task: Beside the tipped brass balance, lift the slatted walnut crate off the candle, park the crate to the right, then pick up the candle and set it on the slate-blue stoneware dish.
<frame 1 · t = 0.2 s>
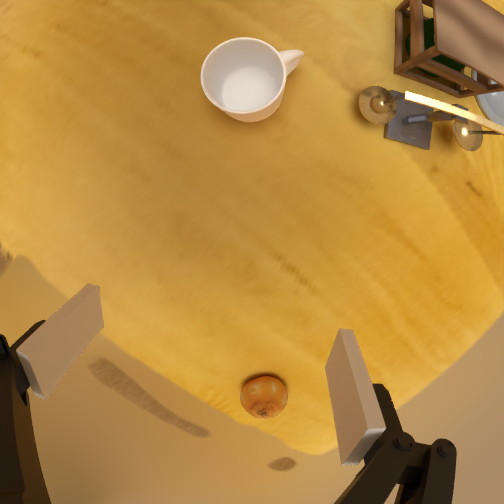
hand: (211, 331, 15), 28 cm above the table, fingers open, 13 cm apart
dish: (497, 91, 30), on the table
candle: (428, 52, 31), on the table
mug: (261, 86, 35), on the table
crate: (429, 52, 30), on the table
brown onion: (265, 384, 52), on the table
balance: (408, 120, 35), on the table
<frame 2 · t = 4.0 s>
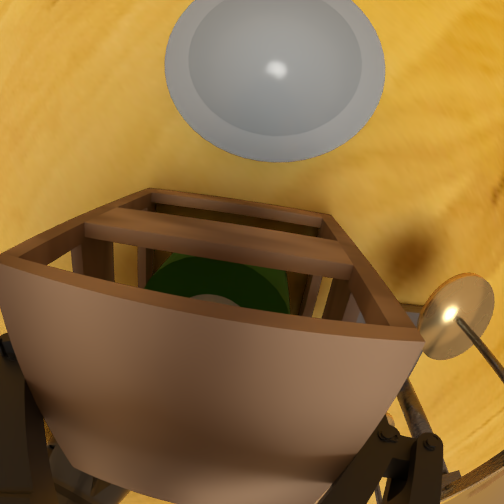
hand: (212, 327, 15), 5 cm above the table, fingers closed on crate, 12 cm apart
dish: (275, 59, 15), on the table
candle: (226, 283, 21), on the table
crate: (226, 285, 20), on the table, touching gripper
balance: (381, 341, 21), on the table
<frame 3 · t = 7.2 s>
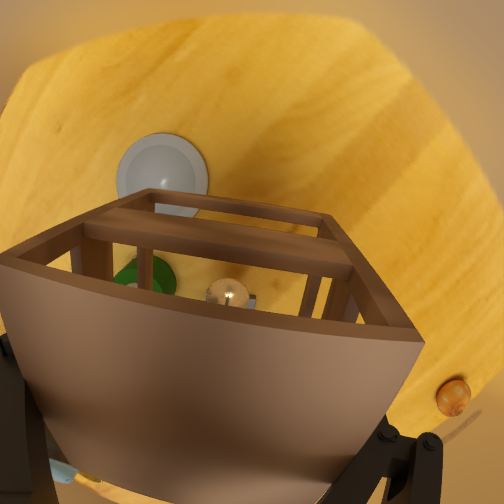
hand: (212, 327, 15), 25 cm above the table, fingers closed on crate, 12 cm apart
plant pot: (97, 451, 64), on the table
dish: (161, 181, 38), on the table
candle: (151, 279, 44), on the table
crate: (225, 285, 20), point 20 cm above the table, touching gripper
brown onion: (447, 387, 49), on the table
balance: (229, 312, 44), on the table
when the fingers open (7 cm above the table, at t = 10.2 s): crate drops 2 cm, on the table.
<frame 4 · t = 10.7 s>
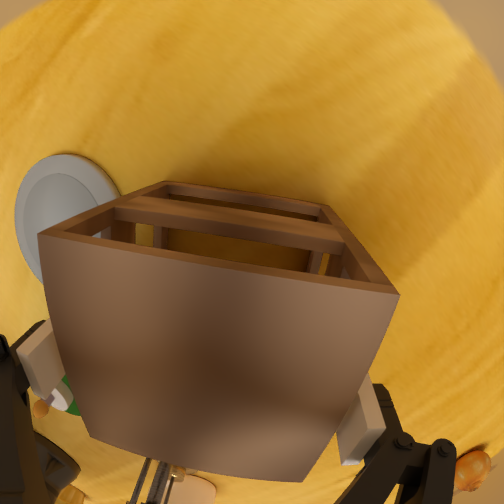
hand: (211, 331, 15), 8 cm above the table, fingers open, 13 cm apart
plant pot: (74, 488, 50), on the table
dish: (68, 228, 22), on the table
candle: (81, 355, 28), on the table
mug: (184, 478, 36), on the table
crate: (234, 269, 22), on the table
brown onion: (465, 456, 32), on the table
balance: (184, 405, 28), on the table
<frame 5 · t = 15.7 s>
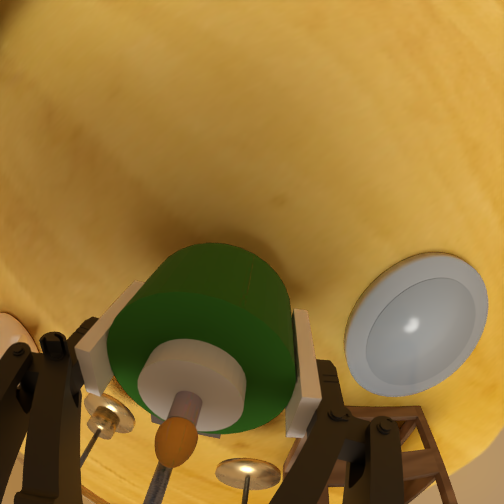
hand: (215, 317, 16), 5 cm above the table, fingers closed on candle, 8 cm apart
dish: (419, 329, 21), on the table
candle: (217, 310, 17), point 4 cm above the table, touching gripper
mug: (23, 337, 26), on the table
crate: (349, 441, 25), on the table
balance: (188, 401, 25), on the table
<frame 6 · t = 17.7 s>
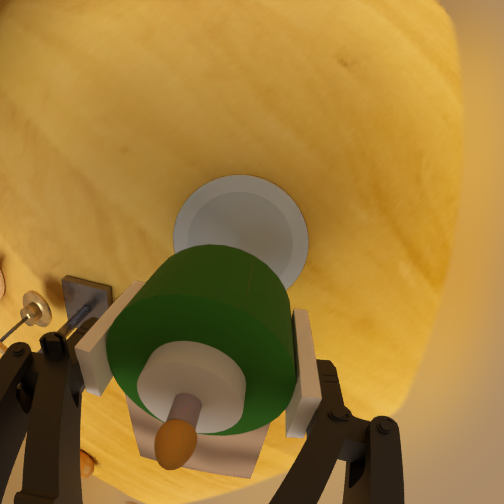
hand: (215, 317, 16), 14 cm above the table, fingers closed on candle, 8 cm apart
dish: (240, 241, 29), on the table
candle: (217, 312, 17), point 13 cm above the table, touching gripper
crate: (216, 356, 35), on the table
brown onion: (83, 454, 51), on the table
balance: (90, 305, 34), on the table
when the fingers open (2 cm above the table, at t = 20.0 s): candle stays where it is, resting on dish.
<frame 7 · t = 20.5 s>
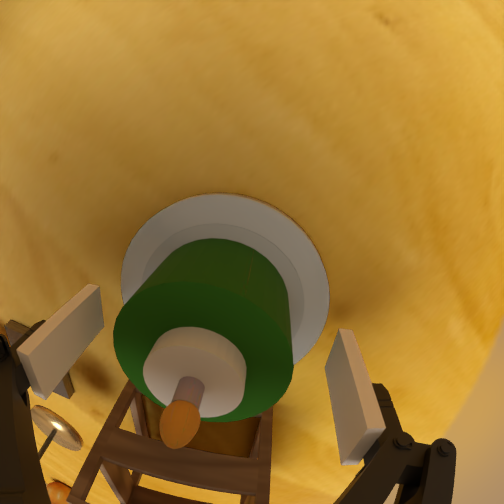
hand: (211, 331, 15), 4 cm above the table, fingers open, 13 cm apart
dish: (222, 296, 19), on the table
candle: (218, 303, 18), point 1 cm above the table, touching dish
crate: (198, 429, 24), on the table
brown onion: (67, 486, 40), on the table
balance: (41, 357, 23), on the table
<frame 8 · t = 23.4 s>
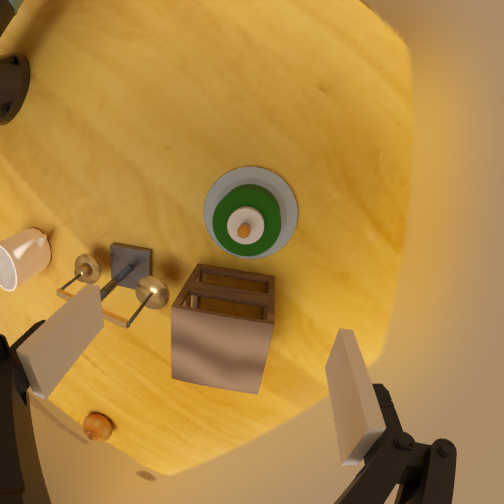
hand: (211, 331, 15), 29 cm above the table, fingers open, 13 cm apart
dish: (250, 212, 42), on the table
candle: (250, 213, 41), point 1 cm above the table, touching dish
mug: (42, 243, 47), on the table
crate: (231, 303, 47), on the table
brown onion: (102, 418, 63), on the table
balance: (132, 266, 46), on the table
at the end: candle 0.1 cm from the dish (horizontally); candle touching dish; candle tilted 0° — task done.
